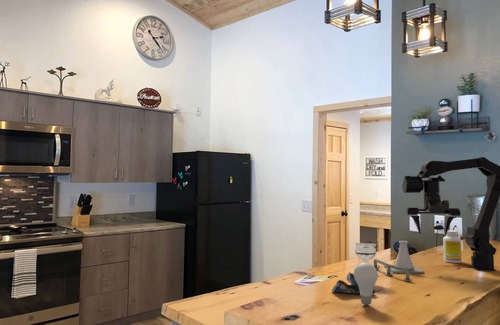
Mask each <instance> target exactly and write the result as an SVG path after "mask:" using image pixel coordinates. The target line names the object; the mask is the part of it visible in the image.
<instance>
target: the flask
mask: <svg viewBox="0 0 500 325" xmlns="http://www.w3.org/2000/svg"><path fill="white" fill-rule="evenodd" d="M398 243H399V249H398V252H397V253H398V254H397V255H396V256H397V257H396V259H395V261H394V262H395V263H394V266H398V267H402V268H406V269H408V270H411V269H414V266H415V265H414V264H413V261H412V259H411V256H410V254H409V248H408V243H409V242H408V240H399V241H398Z"/></svg>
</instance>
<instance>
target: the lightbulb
mask: <svg viewBox="0 0 500 325" xmlns="http://www.w3.org/2000/svg"><path fill="white" fill-rule="evenodd" d="M353 274H354V278H355V280H356V282H357V284H358V287H359V291H360V293H359V295H360V302H361V304H362V305H363V306H365V307H368V306H369V305H371V304H372V296H373V293H372V292H373V289H374V287H375V285H376V283H377V280H378V278H379V273H378V270H376V268H375V267H374V264H371V263H370V262H367V263H365V262H364V261H363V262H361V263H360V262H359V263H358V264H357V265H356V266H355V268H354V269H353Z"/></svg>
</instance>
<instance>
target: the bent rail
mask: <svg viewBox="0 0 500 325" xmlns="http://www.w3.org/2000/svg"><path fill="white" fill-rule="evenodd" d="M378 264H381V265H382V266H384V265H385V266H387V269H386V273H385V274H384V276H386V277H392V276H393V273H392V272H390V268H394V269H398V270H402V271H405V272H406V274H405V278H403V281H404V282H406V281H408V282H409V283H411V281H412V280H413V279H412V278H410V275H411V274H410V273H409V270H408V269H406V268H402V267H398V266H394V265H395V264H394V265H393V264H390V263H388V262H386V261H385V262H384V261H382V260H380V259H377V258H374V259H373V266H374V267H375V268H376V270H377V271H378V270H380V268H379V267H378Z"/></svg>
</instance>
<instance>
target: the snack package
mask: <svg viewBox="0 0 500 325" xmlns="http://www.w3.org/2000/svg"><path fill="white" fill-rule="evenodd" d="M346 281H347V282H348V283H349V284H348V283H347V282H345V281H343V280H341V279H339V280H338V281H336V284H335V285H334V286H333V287H332V289H331V292H332V293H342V294H343V293H345V294H360V291H359V287H358V284H357V282H356V280H355V278H354V273H351V272H348V274H347V275H346ZM375 293H376V290H375V289H374V288H373V292H372V294H375Z"/></svg>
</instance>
